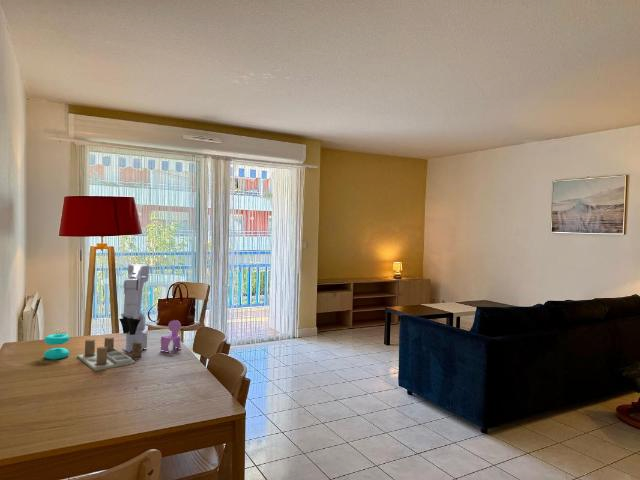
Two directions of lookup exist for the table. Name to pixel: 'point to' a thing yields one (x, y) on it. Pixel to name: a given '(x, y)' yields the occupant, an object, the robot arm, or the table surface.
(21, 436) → the table surface
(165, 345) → the toy chair
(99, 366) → the pin board
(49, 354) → the donuts
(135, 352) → the walnut pin
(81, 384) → the table surface
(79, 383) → the table surface
